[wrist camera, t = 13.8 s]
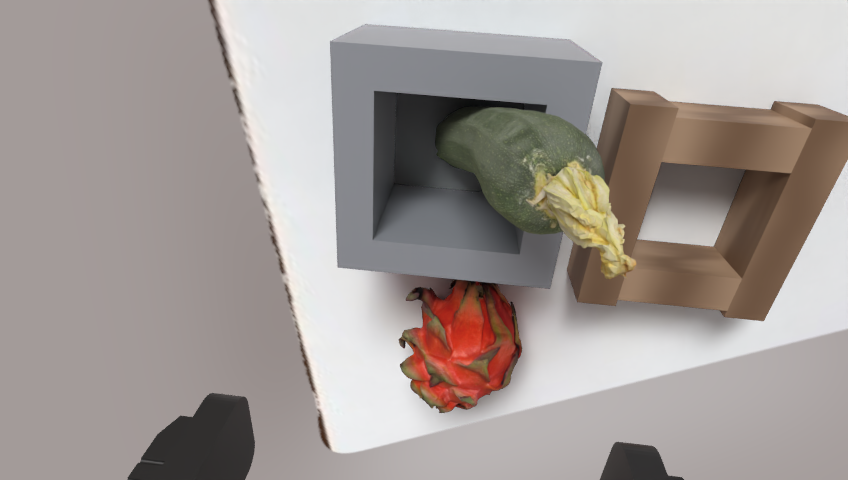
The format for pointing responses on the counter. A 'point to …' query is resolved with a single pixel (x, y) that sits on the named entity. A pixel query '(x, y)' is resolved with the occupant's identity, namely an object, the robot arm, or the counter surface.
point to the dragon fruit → (461, 345)
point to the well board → (749, 213)
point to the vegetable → (537, 176)
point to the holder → (436, 207)
